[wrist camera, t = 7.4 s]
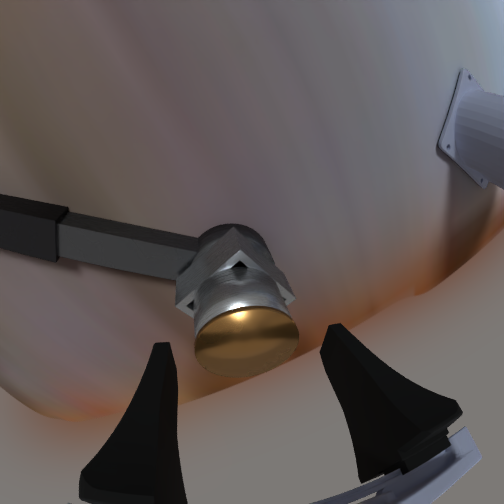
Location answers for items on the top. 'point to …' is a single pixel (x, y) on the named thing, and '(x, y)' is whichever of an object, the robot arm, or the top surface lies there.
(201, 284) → the socket
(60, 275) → the top surface
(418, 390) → the robot arm
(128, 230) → the ratchet
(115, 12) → the top surface
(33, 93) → the top surface
